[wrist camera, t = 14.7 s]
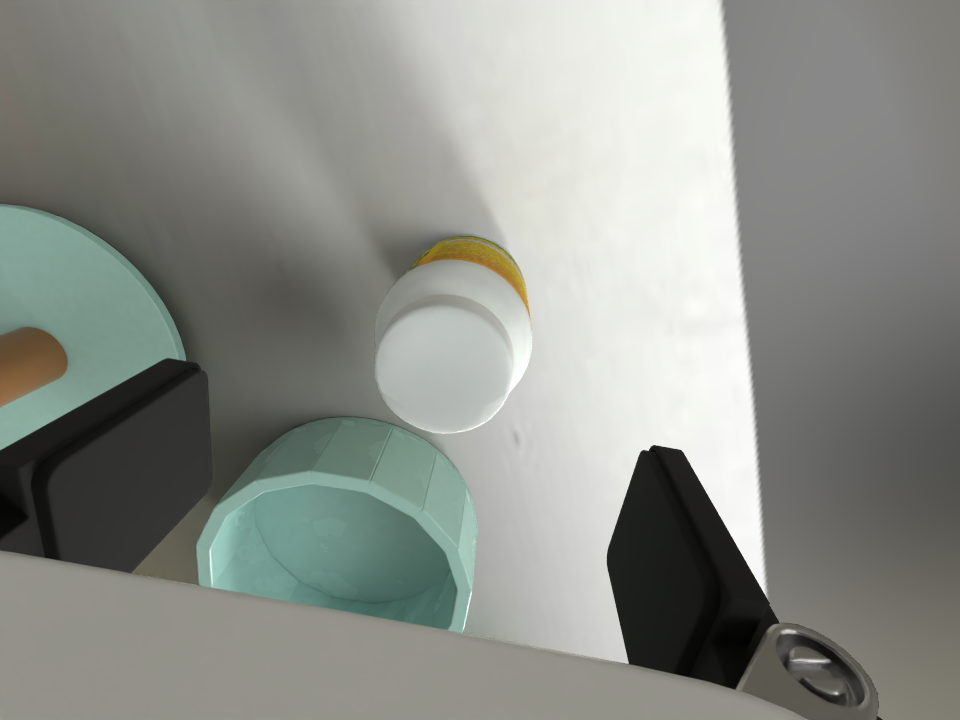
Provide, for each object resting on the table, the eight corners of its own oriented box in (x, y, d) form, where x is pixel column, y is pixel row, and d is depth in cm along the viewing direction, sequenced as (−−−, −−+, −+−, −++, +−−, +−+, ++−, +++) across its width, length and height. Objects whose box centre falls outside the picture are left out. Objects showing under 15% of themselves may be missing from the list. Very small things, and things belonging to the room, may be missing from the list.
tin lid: (-117, 178, 23) (-330, 186, 17) (186, 230, 23) (77, 255, 17) (-44, 439, 28) (-187, 512, 22) (203, 480, 28) (124, 563, 22)
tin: (245, 397, 26) (188, 450, 21) (494, 439, 26) (490, 500, 21) (249, 584, 31) (203, 660, 26) (458, 619, 31) (449, 700, 26)
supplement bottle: (506, 359, 24) (504, 476, 15) (399, 328, 24) (333, 430, 15) (542, 251, 22) (563, 314, 13) (425, 216, 22) (367, 257, 13)
